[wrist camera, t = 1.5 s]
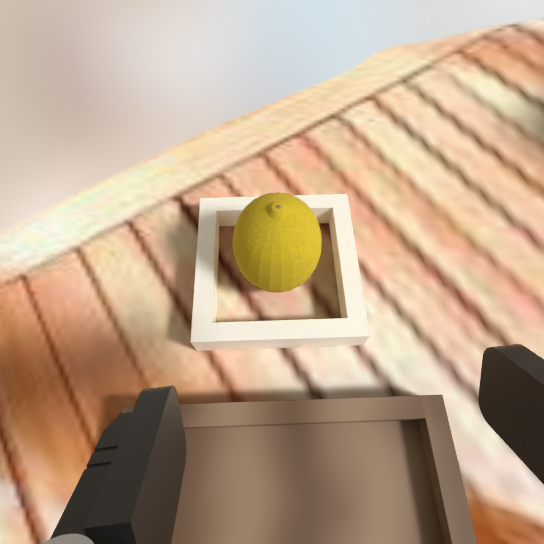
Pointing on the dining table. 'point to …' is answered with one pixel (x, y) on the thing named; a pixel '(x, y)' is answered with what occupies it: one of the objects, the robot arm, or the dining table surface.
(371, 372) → the dining table surface
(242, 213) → the lemon
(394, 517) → the walnut tray
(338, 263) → the holder frame
